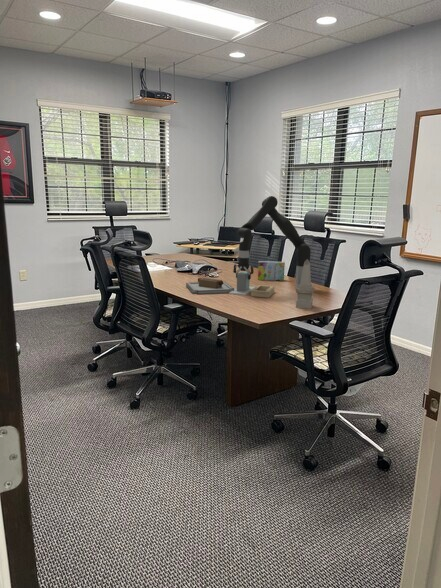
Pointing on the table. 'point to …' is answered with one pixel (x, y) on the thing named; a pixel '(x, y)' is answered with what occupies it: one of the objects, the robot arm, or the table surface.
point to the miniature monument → (305, 288)
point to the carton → (263, 291)
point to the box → (242, 281)
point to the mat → (242, 291)
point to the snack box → (271, 270)
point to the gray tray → (209, 286)
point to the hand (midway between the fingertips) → (243, 279)
